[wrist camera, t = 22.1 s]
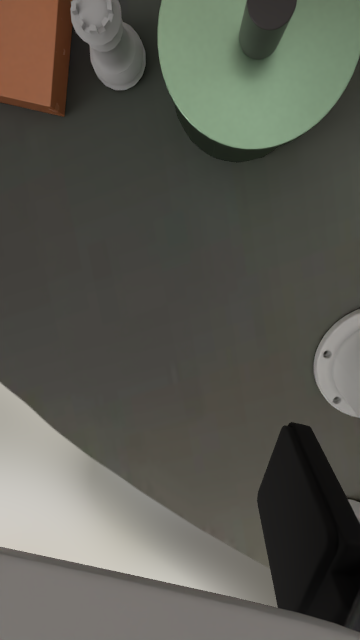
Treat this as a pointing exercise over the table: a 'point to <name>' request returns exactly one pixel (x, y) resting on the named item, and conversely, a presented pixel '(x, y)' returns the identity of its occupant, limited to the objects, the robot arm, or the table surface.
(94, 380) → the table surface
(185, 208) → the table surface
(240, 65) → the pot lid
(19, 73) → the knob base block
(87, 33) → the rook chess piece
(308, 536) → the robot arm
